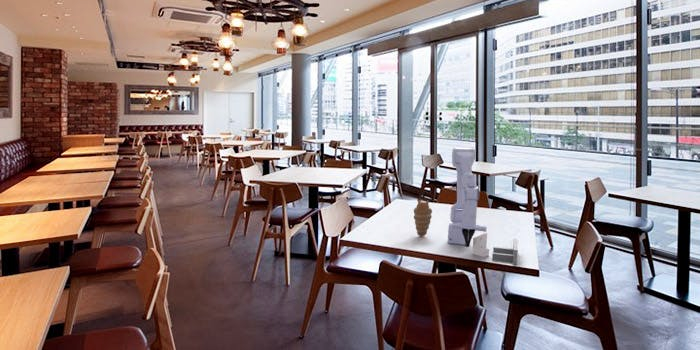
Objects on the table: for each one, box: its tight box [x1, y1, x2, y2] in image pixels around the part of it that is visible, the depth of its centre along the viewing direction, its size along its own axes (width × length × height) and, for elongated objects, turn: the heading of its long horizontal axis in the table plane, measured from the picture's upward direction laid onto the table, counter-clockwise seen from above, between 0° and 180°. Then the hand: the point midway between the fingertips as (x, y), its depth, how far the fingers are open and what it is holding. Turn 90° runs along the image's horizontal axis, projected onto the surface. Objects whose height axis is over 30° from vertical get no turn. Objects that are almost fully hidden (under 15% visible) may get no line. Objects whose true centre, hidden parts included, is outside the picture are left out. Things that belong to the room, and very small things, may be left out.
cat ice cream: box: [413, 199, 433, 237], centre depth 225 cm, size 9×8×18 cm
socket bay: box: [491, 238, 519, 266], centre depth 194 cm, size 10×18×6 cm, turn 161°
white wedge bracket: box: [471, 232, 490, 257], centre depth 196 cm, size 4×10×9 cm, turn 33°
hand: (467, 246), depth 199 cm, fingers closed
